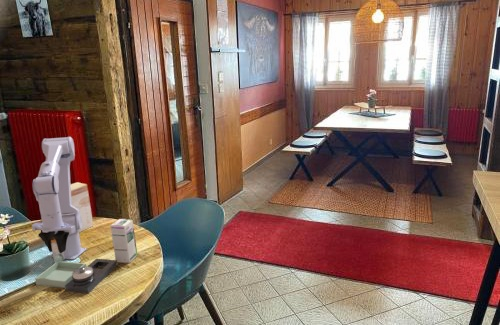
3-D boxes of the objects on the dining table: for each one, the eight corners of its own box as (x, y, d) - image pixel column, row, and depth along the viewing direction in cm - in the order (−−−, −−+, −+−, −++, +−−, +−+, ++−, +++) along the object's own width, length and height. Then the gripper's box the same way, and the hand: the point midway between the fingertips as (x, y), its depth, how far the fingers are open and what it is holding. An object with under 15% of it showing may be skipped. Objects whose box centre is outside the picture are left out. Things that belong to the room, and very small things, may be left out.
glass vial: (51, 262, 126) (47, 240, 124) (58, 257, 129) (54, 235, 127) (60, 263, 125) (56, 240, 123) (66, 258, 128) (63, 236, 126)
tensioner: (65, 291, 121) (62, 274, 119) (97, 263, 137) (94, 248, 135) (88, 293, 119) (85, 276, 118) (117, 265, 135) (115, 250, 134)
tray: (36, 285, 125) (35, 278, 124) (59, 267, 135) (58, 261, 134) (66, 288, 122) (64, 281, 122) (86, 270, 133) (85, 263, 132)
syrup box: (130, 263, 136) (125, 225, 132) (115, 262, 138) (109, 224, 134) (137, 255, 142) (133, 219, 138) (123, 254, 143) (118, 218, 139)
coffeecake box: (83, 223, 172) (77, 181, 167) (94, 226, 168) (87, 184, 163) (52, 236, 159) (44, 192, 154) (63, 240, 156) (55, 195, 151)
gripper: (21, 216, 120) (29, 255, 124) (62, 218, 117) (69, 258, 121) (38, 207, 127) (45, 245, 130) (76, 210, 124) (83, 248, 127)
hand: (57, 251), depth 126 cm, fingers closed on glass vial, 3 cm apart
